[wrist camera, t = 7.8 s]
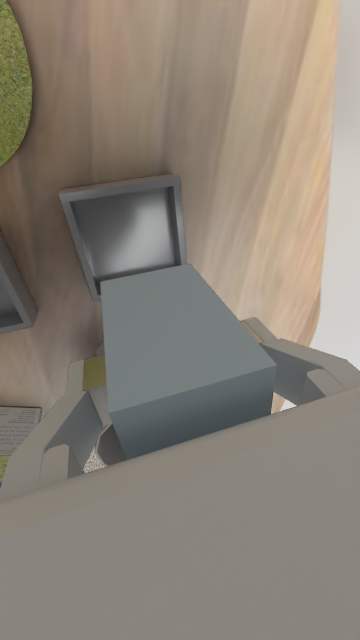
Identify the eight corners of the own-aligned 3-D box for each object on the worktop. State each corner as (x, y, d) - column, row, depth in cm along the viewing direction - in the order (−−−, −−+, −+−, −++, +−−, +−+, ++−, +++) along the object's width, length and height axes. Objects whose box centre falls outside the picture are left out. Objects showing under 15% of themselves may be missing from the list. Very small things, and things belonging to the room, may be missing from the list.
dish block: (181, 270, 25) (188, 282, 23) (93, 288, 24) (93, 302, 22) (171, 173, 20) (179, 176, 18) (62, 188, 19) (58, 194, 17)
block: (196, 334, 14) (264, 456, 9) (121, 353, 14) (142, 499, 8) (190, 263, 12) (277, 365, 6) (100, 281, 11) (108, 413, 6)
